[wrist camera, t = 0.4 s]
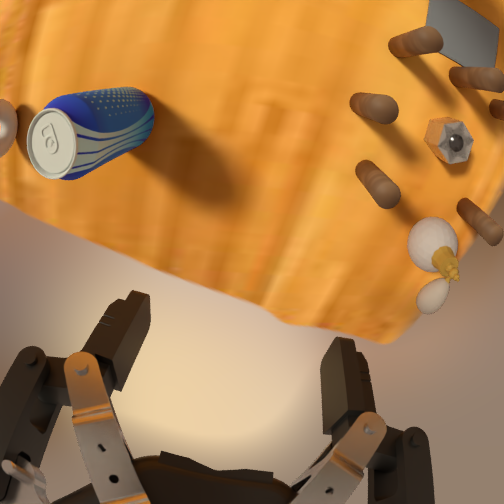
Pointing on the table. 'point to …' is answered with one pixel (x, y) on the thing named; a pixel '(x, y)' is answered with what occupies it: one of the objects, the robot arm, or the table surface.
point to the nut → (449, 139)
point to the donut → (7, 126)
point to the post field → (387, 112)
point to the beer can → (88, 131)
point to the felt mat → (464, 33)
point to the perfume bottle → (434, 259)
